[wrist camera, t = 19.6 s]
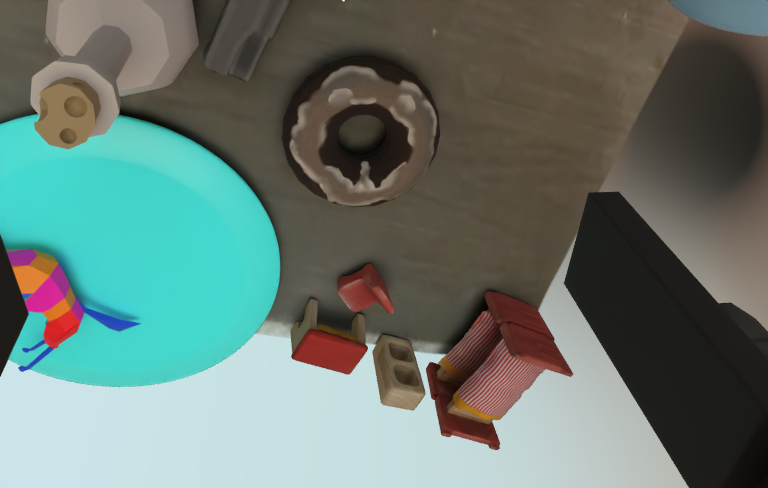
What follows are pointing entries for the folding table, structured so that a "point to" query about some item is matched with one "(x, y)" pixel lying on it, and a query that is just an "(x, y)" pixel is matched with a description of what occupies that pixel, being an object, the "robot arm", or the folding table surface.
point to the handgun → (243, 36)
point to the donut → (351, 98)
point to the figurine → (53, 299)
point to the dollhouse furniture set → (455, 371)
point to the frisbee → (138, 250)
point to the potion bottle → (107, 61)
